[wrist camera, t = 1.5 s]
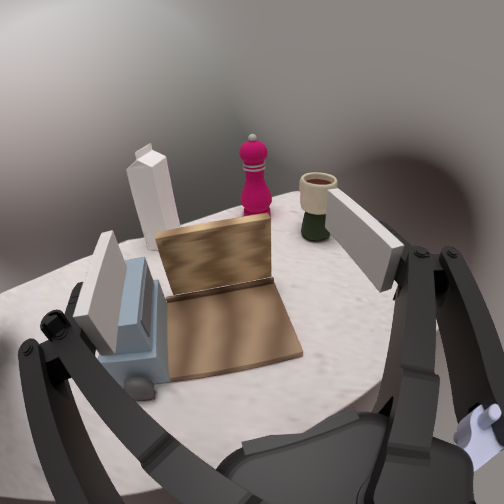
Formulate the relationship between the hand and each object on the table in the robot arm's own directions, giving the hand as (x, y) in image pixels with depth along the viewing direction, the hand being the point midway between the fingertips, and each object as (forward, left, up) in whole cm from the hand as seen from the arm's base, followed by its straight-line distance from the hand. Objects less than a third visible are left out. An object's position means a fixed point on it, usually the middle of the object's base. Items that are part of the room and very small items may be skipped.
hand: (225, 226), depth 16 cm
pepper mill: (+11, +44, -25) cm, 51 cm away
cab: (-14, +12, -24) cm, 30 cm away
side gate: (0, +20, -22) cm, 30 cm away
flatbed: (-1, +12, -24) cm, 27 cm away
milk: (-11, +39, -25) cm, 47 cm away
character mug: (+21, +32, -25) cm, 45 cm away
